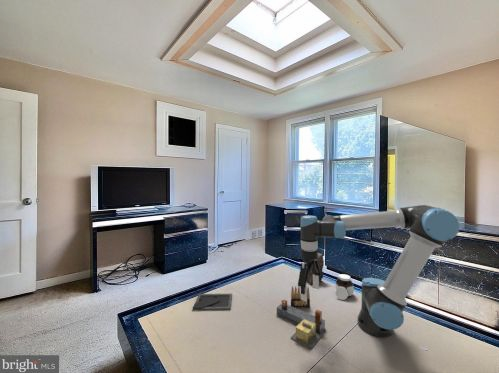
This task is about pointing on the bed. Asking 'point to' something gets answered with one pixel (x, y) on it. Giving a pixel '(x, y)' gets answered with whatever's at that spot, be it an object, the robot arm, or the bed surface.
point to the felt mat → (310, 341)
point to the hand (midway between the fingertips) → (310, 294)
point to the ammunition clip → (299, 299)
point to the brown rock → (321, 264)
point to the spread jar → (344, 287)
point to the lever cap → (305, 331)
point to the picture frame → (213, 302)
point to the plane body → (301, 316)
